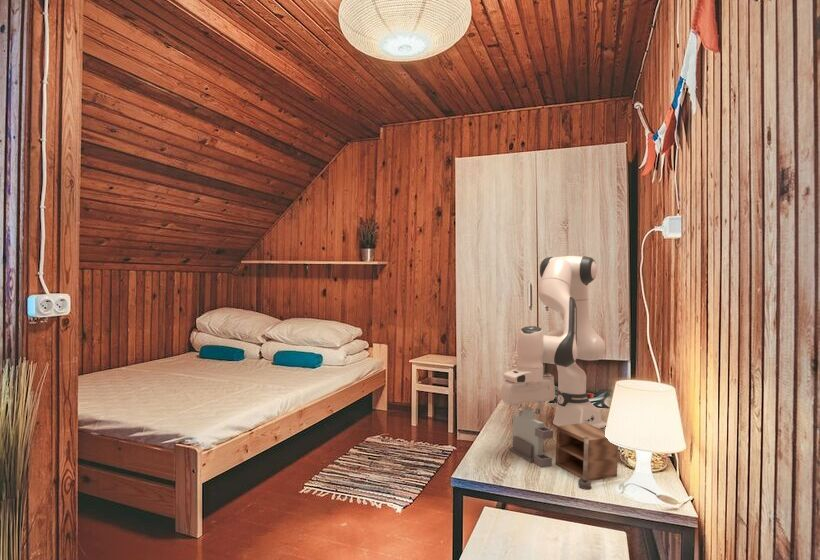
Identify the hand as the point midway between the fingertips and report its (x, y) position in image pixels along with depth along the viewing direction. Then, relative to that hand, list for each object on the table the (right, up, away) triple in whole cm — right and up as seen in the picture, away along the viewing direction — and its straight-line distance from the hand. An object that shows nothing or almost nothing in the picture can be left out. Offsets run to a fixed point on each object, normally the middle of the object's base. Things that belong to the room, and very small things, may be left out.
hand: (528, 414), depth 167 cm
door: (0, -14, -1) cm, 14 cm away
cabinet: (+14, -15, -14) cm, 25 cm away
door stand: (0, -14, 0) cm, 14 cm away
